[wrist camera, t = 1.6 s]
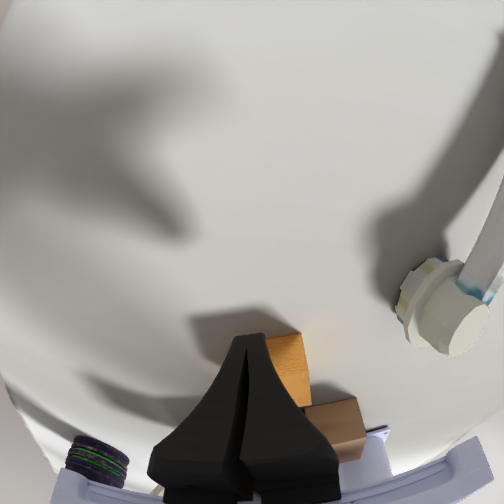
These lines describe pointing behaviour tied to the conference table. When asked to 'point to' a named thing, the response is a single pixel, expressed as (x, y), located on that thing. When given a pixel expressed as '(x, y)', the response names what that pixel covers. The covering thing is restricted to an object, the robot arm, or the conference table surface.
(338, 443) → the block
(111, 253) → the conference table surface
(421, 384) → the conference table surface
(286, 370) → the orange block
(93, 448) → the storage jar
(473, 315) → the white handled tool
